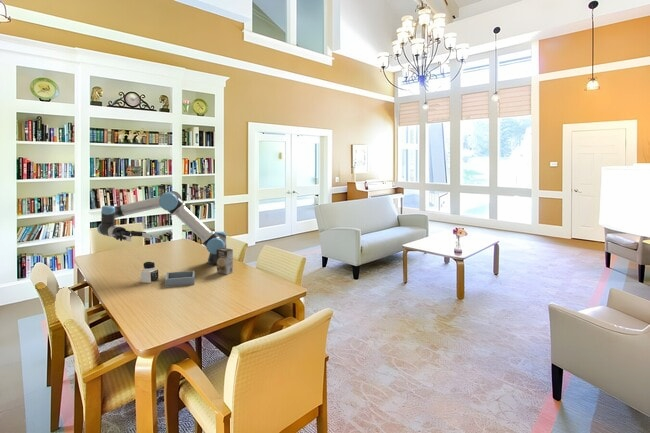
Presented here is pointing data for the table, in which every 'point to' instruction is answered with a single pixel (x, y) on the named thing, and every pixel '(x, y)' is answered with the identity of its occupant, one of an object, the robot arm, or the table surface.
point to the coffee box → (224, 261)
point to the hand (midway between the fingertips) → (140, 237)
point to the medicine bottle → (149, 273)
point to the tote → (180, 278)
